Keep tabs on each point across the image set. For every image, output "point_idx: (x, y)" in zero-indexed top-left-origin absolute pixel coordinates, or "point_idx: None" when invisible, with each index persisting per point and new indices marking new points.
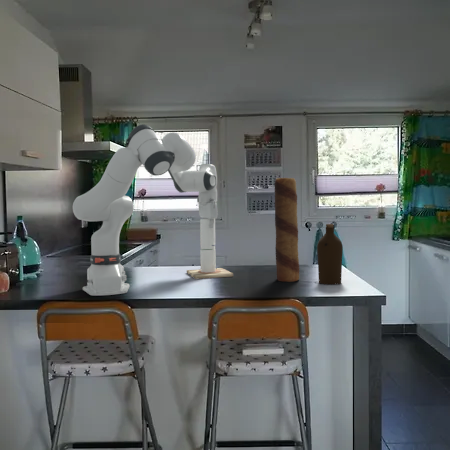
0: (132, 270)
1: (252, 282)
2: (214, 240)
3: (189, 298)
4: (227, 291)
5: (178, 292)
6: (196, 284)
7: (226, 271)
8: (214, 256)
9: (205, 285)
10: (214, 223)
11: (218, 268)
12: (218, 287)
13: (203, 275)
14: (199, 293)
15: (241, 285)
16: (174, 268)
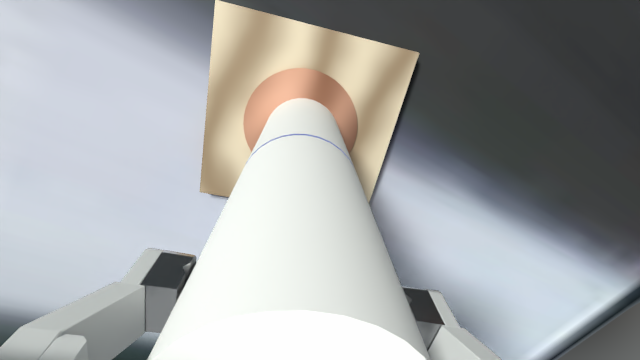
0: (33, 318)
1: (589, 65)
2: (355, 176)
3: (585, 327)
4: (614, 226)
5: (508, 324)
6: (450, 250)
7: (347, 49)
8: (341, 137)
9: (487, 236)
10: (399, 289)
11: (224, 27)
12: (547, 219)
13: (372, 191)
14: (563, 292)
15: (591, 140)
16: (24, 173)
